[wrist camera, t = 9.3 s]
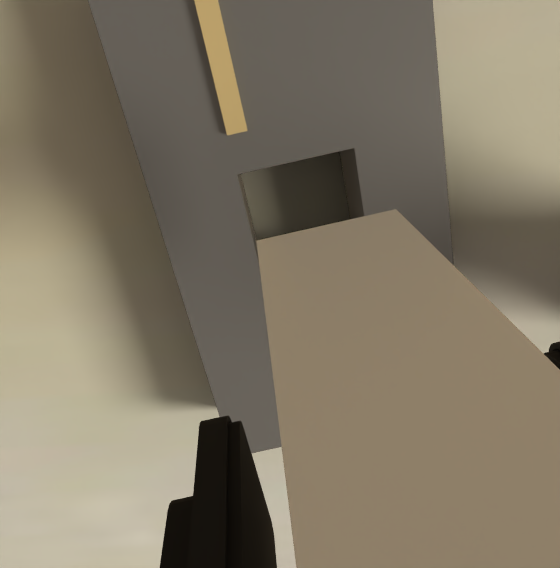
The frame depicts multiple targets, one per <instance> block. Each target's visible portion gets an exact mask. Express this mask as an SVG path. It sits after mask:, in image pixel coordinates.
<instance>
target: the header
mask: <svg viewBox="0 0 560 568" xmlns="http://www.w3.org/2000/svg"><path fill="white" fill-rule="evenodd" d="M88 2H89V5H90V9H91V12H92V15H93V18H94V21H95V24H96V27H97V31H98V34H99V37H100V40H101V43H102V46H103V50H104V53H105V56H106V59H107V62H108V65H109V69H110V72H111V75H112V78H113V81H114V84H115V87H116V91H117V94H118V97H119V100H120V103H121V106H122V110H123V113H124V116H125V119H126V122H127V125H128V129H129V132H130V135H131V138H132V141H133V144H134V148H135V151H136V154H137V157H138V160H139V163H140V166H141V170H142V173H143V176H144V179H145V182H146V185H147V189H148V192H149V195H150V198H151V201H152V204H153V208H154V211H155V214H156V217H157V220H158V223H159V226H160V230H161V233H162V236H163V239H164V242H165V245H166V249H167V252H168V255H169V258H170V261H171V264H172V268H173V271H174V274H175V277H176V280H177V283H178V286H179V290H180V293H181V296H182V299H183V302H184V305H185V309H186V312H187V315H188V318H189V321H190V324H191V328H192V331H193V334H194V337H195V340H196V343H197V347H198V350H199V353H200V356H201V359H202V362H203V365H204V369H205V372H206V375H207V378H208V381H209V384H210V388H211V391H212V394H213V397H214V400H215V403H216V407H217V410H218V413H219V416H220V417H223V416H230V418H231V421H232V422H236V421H241V422H242V424H243V427H244V430H245V434H246V437H247V441H248V444H249V447H250V451H251V453H255V452H260V451H264V450H269V449H273V448H278V447H282V445H281V437H280V429H279V421H278V413H277V405H276V397H275V389H274V380H273V372H272V364H271V356H270V348H269V340H268V332H267V324H266V316H265V307H264V299H263V291H262V283H261V275H260V267H259V259H258V251H257V243H256V241H257V240H256V236H255V232H254V228H253V223H252V219H251V215H250V211H249V207H248V203H247V198H246V194H245V190H244V186H243V182H242V178H241V174H242V173H246V172H251V171H255V170H259V169H264V168H268V167H273V166H277V165H281V164H286V163H290V162H295V161H299V160H304V159H308V158H312V157H317V156H321V155H326V154H330V153H334V152H340V158H341V164H342V171H343V177H344V183H345V189H346V196H347V202H348V208H349V214H350V219H354V218H359V217H363V216H368V215H372V214H377V213H381V212H385V211H390V210H394V209H396V210H397V211H398V212H399V213H401V214H402V215H403V216H404V217H405V218H406V219H407V220H408V221H409V222H410V223H411V224H412V225H413V226H414V227H415V228H416V229H417V230H418V231H419V232H420V233H421V234H422V235H423V236H424V237H425V238H426V239H427V240H428V241H429V242H430V243H431V244H432V245H433V246H434V247H435V248H436V249H437V250H438V251H439V252H440V253H441V254H442V255H443V256H444V257H445V258H446V259H447V260H448V261H449V262H450V263H451V264H452V265H453V252H452V240H451V227H450V214H449V202H448V189H447V177H446V164H445V151H444V139H443V126H442V114H441V101H440V88H439V76H438V63H437V50H436V38H435V25H434V13H433V0H88Z"/></svg>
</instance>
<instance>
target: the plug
mask: <svg viewBox="0 0 560 568" xmlns="http://www.w3.org/2000/svg"><path fill="white" fill-rule="evenodd" d="M256 243H257V251H258V259H259V267H260V275H261V283H262V291H263V299H264V307H265V316H266V324H267V332H268V340H269V348H270V356H271V364H272V372H273V380H274V389H275V397H276V405H277V413H278V421H279V429H280V437H281V445H282V453H283V462H284V470H285V478H286V486H287V494H288V502H289V510H290V518H291V527H292V535H293V543H294V551H295V559H296V567H297V568H560V369H558V368H557V367H556V366H555V365H554V364H553V363H552V362H551V361H550V360H549V359H548V358H547V357H546V356H545V355H544V354H543V353H542V352H541V351H540V350H539V349H538V348H537V347H536V346H535V345H534V344H533V343H532V342H531V341H530V340H529V339H528V338H527V337H526V336H525V335H524V334H523V333H522V332H521V331H520V330H519V329H518V328H517V327H516V326H515V325H514V324H513V323H512V322H511V321H510V320H509V319H508V318H507V317H505V316H504V315H503V314H502V313H501V312H500V311H499V310H498V309H497V308H496V307H495V306H494V305H493V304H492V303H491V302H490V301H489V300H488V299H487V298H486V297H485V296H484V295H483V294H482V293H481V292H480V291H479V290H478V289H477V288H476V287H475V286H474V285H473V284H472V283H471V282H470V281H469V280H468V279H467V278H466V277H465V276H464V275H463V274H462V273H461V272H460V271H459V270H458V269H457V268H456V267H455V266H454V265H452V264H451V263H450V262H449V261H448V260H447V259H446V258H445V257H444V256H443V255H442V254H441V253H440V252H439V251H438V250H437V249H436V248H435V247H434V246H433V245H432V244H431V243H430V242H429V241H428V240H427V239H426V238H425V237H424V236H423V235H422V234H421V233H420V232H419V231H418V230H417V229H416V228H415V227H414V226H413V225H412V224H411V223H410V222H409V221H408V220H407V219H406V218H405V217H404V216H403V215H402V214H401V213H399V212H398V211H397V210H396V209H394V210H390V211H385V212H381V213H377V214H372V215H368V216H363V217H359V218H354V219H350V220H345V221H341V222H337V223H332V224H328V225H323V226H319V227H314V228H310V229H306V230H301V231H297V232H292V233H288V234H283V235H279V236H274V237H270V238H266V239H261V240H257V241H256Z"/></svg>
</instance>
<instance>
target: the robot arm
mask: <svg viewBox="0 0 560 568" xmlns="http://www.w3.org/2000/svg"><path fill="white" fill-rule="evenodd" d="M544 355H545V356H546V357H547V358H548V359H549V360H550V361H551V362H552V363H553V364H554V365H555V366H556V367H557V368H558V369H560V342H556V343H553V344H551V346H550V348H549V352H547V353H544ZM160 568H277V564H276V553H275V541H274V533H273V527H272V522H271V518H270V515H269V511H268V508H267V505H266V501H265V498H264V494H263V491H262V488H261V484H260V481H259V478H258V474H257V471H256V468H255V464H254V461H253V457H252V454H251V451H250V447H249V444H248V441H247V437H246V434H245V430H244V427H243V424H242V422H241V421H236V422H232V421H231V418H230V416H223V417H219V418H214V419H210V420H205V421H201V422H200V426H199V436H198V448H197V459H196V470H195V482H194V493H193V496H191V497H186V498H182V499H177V500H173V501H171V503H170V504H169V508H168V513H167V520H166V527H165V534H164V541H163V548H162V555H161V563H160Z"/></svg>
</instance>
